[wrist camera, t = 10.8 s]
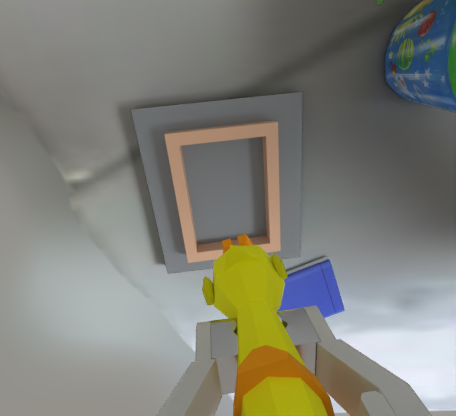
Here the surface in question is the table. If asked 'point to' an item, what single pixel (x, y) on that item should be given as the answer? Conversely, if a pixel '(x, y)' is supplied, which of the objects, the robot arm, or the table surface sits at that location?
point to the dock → (223, 176)
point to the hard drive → (312, 288)
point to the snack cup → (425, 55)
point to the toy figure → (262, 335)
